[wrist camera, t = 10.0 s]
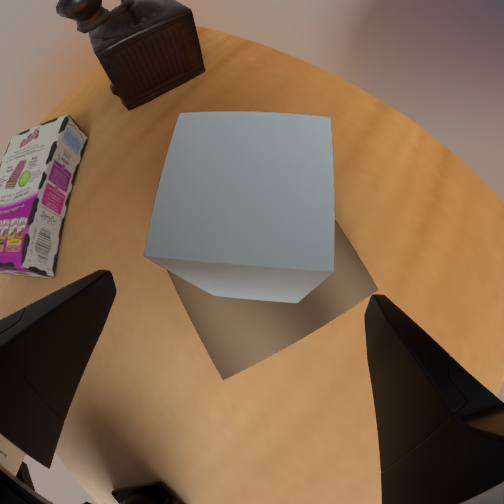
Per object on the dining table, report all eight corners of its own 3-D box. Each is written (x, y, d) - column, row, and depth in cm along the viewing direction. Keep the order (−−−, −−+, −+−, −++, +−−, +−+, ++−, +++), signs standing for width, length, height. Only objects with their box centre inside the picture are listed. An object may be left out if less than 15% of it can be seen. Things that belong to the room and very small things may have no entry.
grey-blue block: (297, 303, 16) (333, 272, 7) (213, 295, 17) (143, 256, 7) (301, 223, 18) (330, 117, 8) (223, 218, 18) (179, 113, 9)
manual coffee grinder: (107, 78, 29) (54, -15, 12) (177, 41, 30) (146, -60, 13) (135, 143, 25) (47, 5, 8) (229, 92, 26) (200, -61, 9)
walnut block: (232, 369, 19) (223, 380, 16) (168, 244, 22) (149, 228, 18) (359, 296, 20) (378, 289, 16) (286, 181, 23) (289, 154, 19)
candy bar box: (56, 280, 22) (91, 136, 26) (21, 270, 17) (69, 111, 21) (0, 273, 23) (32, 152, 27) (-29, 264, 18) (11, 134, 22)
